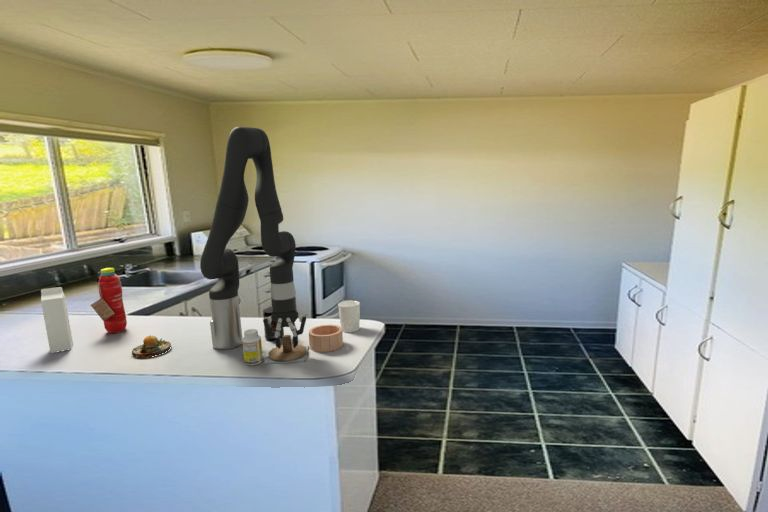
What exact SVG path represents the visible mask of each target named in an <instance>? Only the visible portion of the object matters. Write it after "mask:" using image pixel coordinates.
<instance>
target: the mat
mask: <svg viewBox="0 0 768 512" xmlns="http://www.w3.org/2000/svg"><path fill="white" fill-rule="evenodd" d="M303 346H304V347H306V349H307V353H306V355H305V356H304V357H302V358H300V359H297V360H293V361H288V362H277V361H273V360H271V359H269V356H268V357H267V359H266V361H265V365H272V364H273V365H274V364H286V363H287V364H288V363H289V364H290V363H303V362H306V359H307V355H308V351H309V348H310V345H303ZM273 348H274V347H272V348H271V349H273Z"/></svg>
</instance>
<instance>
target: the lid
mask: <svg viewBox="0 0 768 512" xmlns="http://www.w3.org/2000/svg"><path fill="white" fill-rule="evenodd" d="M304 346H305V345H301V344H298V345H297V346H296V348H294V347H293V343H292V335H290V334H284V336H282V339H281V348H280V349H278V347H276V346H275V347H272V348H273V349H272V348H271V349H270V350H269V351H268V352H267V353H268V357H269V359H271V360H273V361H277V362H288V361H293V360H297V359H300V358H302V357H304V356H305V355H306V353H307V354H308V352H307V349H306V347H304Z"/></svg>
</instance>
